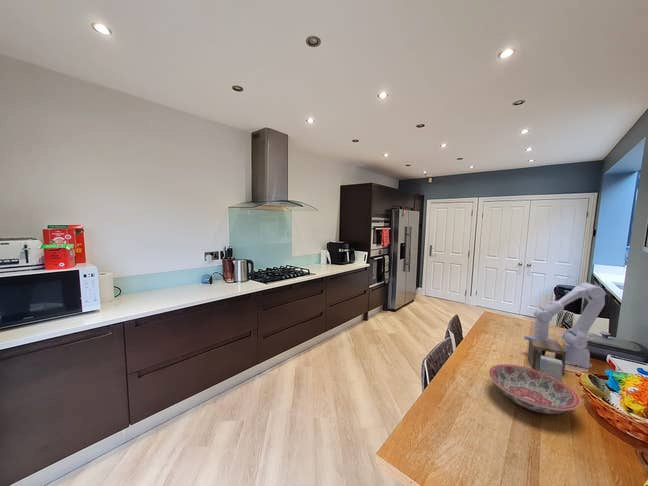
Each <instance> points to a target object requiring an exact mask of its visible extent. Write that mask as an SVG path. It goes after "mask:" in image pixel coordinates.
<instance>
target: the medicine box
mask: <svg viewBox="0 0 648 486" xmlns="http://www.w3.org/2000/svg"><path fill="white" fill-rule="evenodd" d="M562 367H563V364H562V361H561V360H558V359H555V357H554V358H553V357H548V356H546V355H544V356H543V355H541V356H540V368H539V371H540V372H542V373H545V374H547V375H549V376H552V377H554V378H555V379H557V380H559V381H561V382H562V379H563V378H562V376H563V375H562Z"/></svg>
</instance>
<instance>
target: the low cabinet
mask: <svg viewBox="0 0 648 486" xmlns="http://www.w3.org/2000/svg"><path fill="white" fill-rule="evenodd" d="M537 350H543V351H546V352H548V353H553V354H554V359H558V360H561V361H562V364H563V367H562V376H565V368H566V367H565V366H566V363H565V358H566V351H565V350H564V348H563V346H562V345H561V344H560V343H559V342H558V343H553V342H547V341H542V340H536V339H531V338H529V340H528V352H527V360H528V362H529V364H530V366H531V367H530V368H531V369H534V370H535V364H536V356H537V354H536V352H537Z"/></svg>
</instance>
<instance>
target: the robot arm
mask: <svg viewBox="0 0 648 486" xmlns="http://www.w3.org/2000/svg"><path fill="white" fill-rule="evenodd" d="M606 295H607V293H606V291H605V290H604V288H602V287H601V286H598V285H594V284H592V283H590V282H587V281H586V282H580V283H579V284H578V285H576V286H574V287H573V288H572V290H571V291H569V292H568V293H566V294H565V295H564V296H562V297H561V298H559V299H558V300H552V301H549V302H548V303H547V304H546V305H545V306H542V307H541V308H537V309H536V310H535V311H534V312H533V316H534V318H535V322H534V323H535V324H534V332H533V333H534V335H527V334H526V335H525V334H524V335H523V339H524V341H527V340H528V341H529V338H531V339H536V340H542V341H547V342H553V343H558V344H559V341H558V340H554V339H551V338H548V337H549V327H550V322H551V321H552V320H553V318H554V316H555V315H557V314H559V313H561V312H562V311H564V310H565V306H567V305H568V304H570V303H573V302H575V301H577V300H578V299H580V298H581V299H586V300H587V304H586V306H585V308H584V309H583V311H582V313H581V314H580V316H579V317H578V318H577V320H576V321H575V324H574V326H572V327H570V328H568V330H567V331H565V332H563V334H562V339H563V340H564V348H563V349H564V350H565V351H566V358H565V364H566V363H567V364H566V365H570V364H571V365H570V366H575V365H577V367H580V366H581V367H582V368H584V369H585V368H586V369H590V358H591V354H590V353H591V352H590V351H589V349H588V348H587V347H588V341H589V337H588V336H589V335H588V332H589V331H590V329H591V327H592V326H593V324H594V323H595V321H596V320H597V318H598V317H599V315H600V313H601V311H602V310H603V308H604V306H605V305H606V303H605V302H606V300H605V297H606ZM546 353H547V351H543V350H542V354H541V356H546V355H545V354H546ZM536 355H537V352H536ZM581 367H580V368H581Z"/></svg>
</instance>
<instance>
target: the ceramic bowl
mask: <svg viewBox="0 0 648 486" xmlns="http://www.w3.org/2000/svg"><path fill="white" fill-rule="evenodd" d="M488 374H489V377H490V379H491V381H492V382H493V383H494V384H495V385H496V386H497V387H498V388H499V390H500V391H501V393H503V394H504V396H506V397H507V398H508V399H509V400H511V401H512V402H513V403H515V404H517V405H518V406H521V407H522V408H525V409H528V410H530V411H533V412H536V413H541V414H549V415H550V414H551V415H553V414H561V413H564V412H566V411H573V410H575V409H578V407H579V406H580V404H581V400H580V398H579V395H578V394H577V393H576V391H575V390H573V389H572V388H571V387H569V386H568V385H567V384H565V383H564V382H563V381H562V380H561V381H560V380H557V379H555V378H554V377H552V376H549V375H547V374H545V373H542V372H540V371H537V370H535V369H534V368H532V367H526V366H522V365H517V364H507V363H506V364H505V363H502V364H496V365H494V366H493V365H492V367H490V369H489V371H488Z"/></svg>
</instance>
